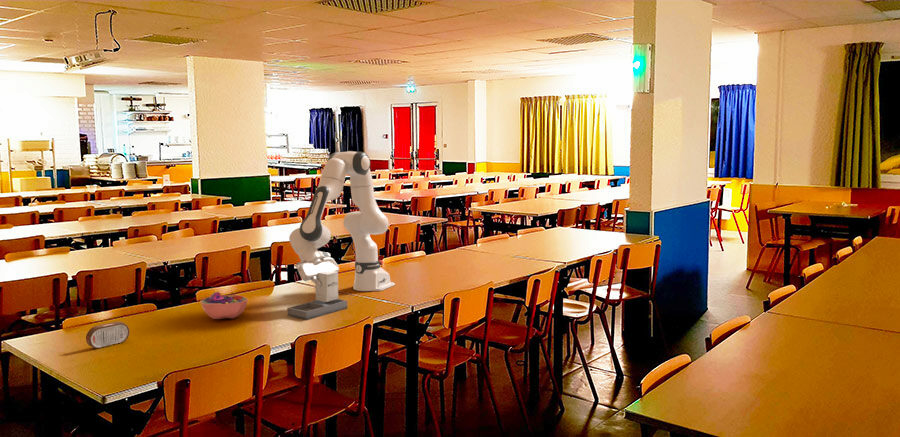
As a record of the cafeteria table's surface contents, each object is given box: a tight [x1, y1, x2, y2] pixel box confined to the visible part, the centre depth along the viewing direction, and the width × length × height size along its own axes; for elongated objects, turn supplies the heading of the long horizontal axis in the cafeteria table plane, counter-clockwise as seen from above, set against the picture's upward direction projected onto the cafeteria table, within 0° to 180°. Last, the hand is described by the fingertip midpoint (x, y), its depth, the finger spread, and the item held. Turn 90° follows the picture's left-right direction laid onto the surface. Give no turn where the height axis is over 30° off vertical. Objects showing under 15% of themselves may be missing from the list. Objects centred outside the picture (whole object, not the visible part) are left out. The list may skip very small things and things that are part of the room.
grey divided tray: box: [287, 298, 348, 321], centre depth 297 cm, size 24×12×4 cm, turn 143°
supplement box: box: [314, 270, 339, 302], centre depth 300 cm, size 7×7×13 cm
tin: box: [85, 321, 130, 349], centre depth 251 cm, size 15×3×8 cm, turn 141°
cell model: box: [199, 291, 249, 320], centre depth 287 cm, size 17×20×11 cm
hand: (327, 283), depth 299 cm, fingers closed on supplement box, 7 cm apart
